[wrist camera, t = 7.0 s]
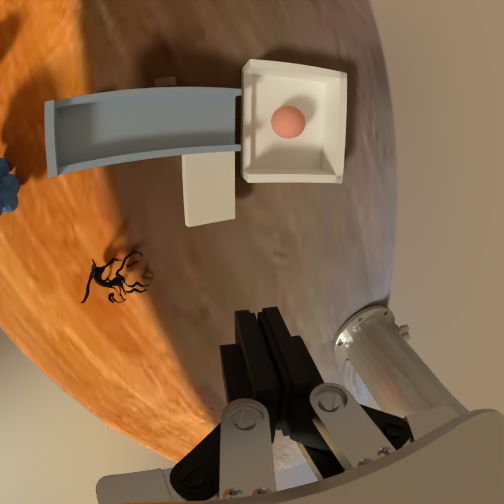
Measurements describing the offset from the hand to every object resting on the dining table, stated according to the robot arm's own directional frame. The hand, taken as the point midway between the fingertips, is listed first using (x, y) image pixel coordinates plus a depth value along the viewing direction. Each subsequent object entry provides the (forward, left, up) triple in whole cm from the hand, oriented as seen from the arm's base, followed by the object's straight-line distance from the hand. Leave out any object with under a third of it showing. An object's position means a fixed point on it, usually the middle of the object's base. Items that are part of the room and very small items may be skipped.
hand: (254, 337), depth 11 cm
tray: (-8, -9, -21) cm, 25 cm away
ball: (-8, -9, -19) cm, 22 cm away
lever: (+6, -5, -17) cm, 19 cm away
